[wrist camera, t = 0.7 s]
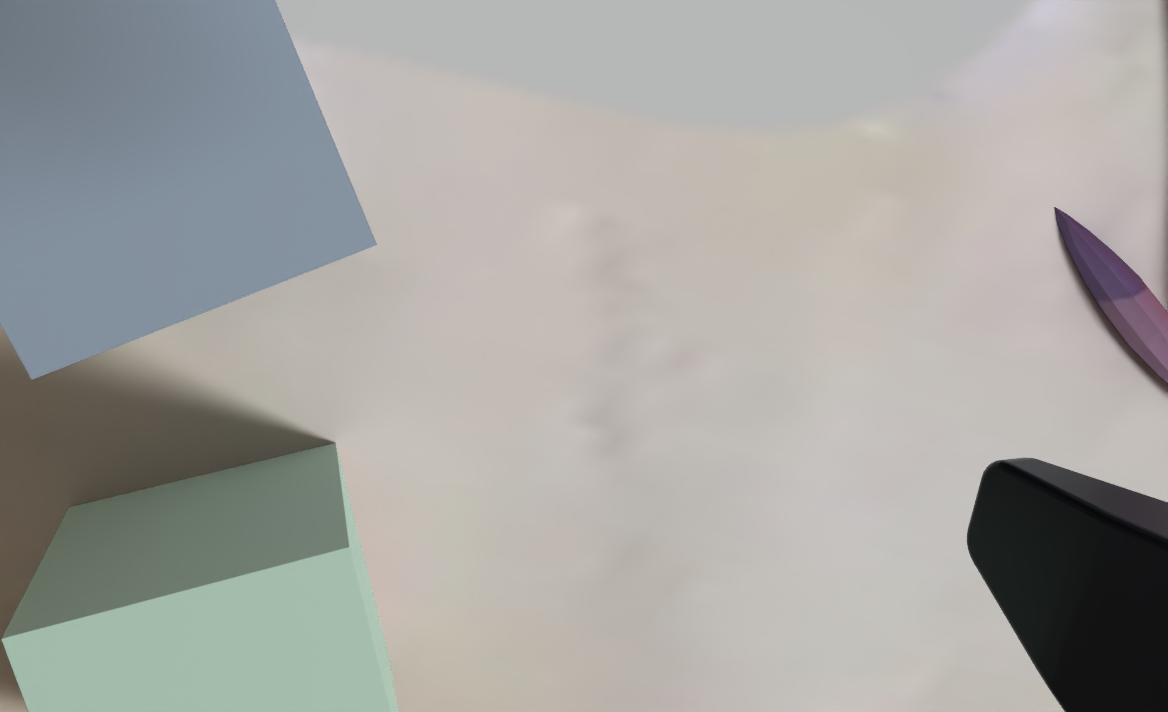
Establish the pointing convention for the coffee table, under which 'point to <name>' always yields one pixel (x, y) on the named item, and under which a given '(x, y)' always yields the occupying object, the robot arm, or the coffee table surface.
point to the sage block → (207, 599)
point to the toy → (1119, 294)
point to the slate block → (155, 169)
